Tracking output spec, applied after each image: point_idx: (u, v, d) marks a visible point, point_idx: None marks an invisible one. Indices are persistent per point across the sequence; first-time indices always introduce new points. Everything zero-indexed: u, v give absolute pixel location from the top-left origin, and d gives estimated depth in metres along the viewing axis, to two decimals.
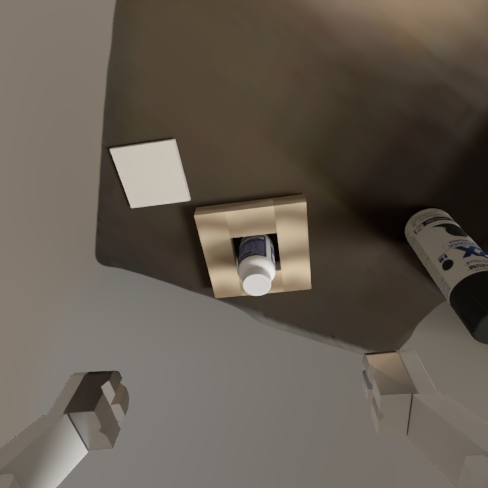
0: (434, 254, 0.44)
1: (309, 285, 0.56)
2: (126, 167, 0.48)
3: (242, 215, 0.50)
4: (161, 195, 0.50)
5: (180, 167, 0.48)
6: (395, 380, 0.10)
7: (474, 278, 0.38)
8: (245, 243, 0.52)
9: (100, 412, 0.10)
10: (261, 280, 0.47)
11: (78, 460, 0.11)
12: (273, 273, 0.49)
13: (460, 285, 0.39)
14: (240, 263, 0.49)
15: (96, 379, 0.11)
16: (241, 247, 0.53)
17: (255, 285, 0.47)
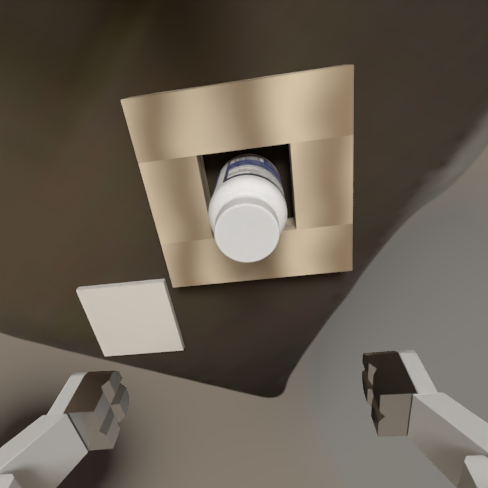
0: None
1: (341, 70, 0.23)
2: (125, 345, 0.38)
3: (163, 216, 0.28)
4: (160, 315, 0.36)
5: (113, 287, 0.34)
6: (395, 380, 0.10)
7: None
8: None
9: (100, 412, 0.10)
10: (231, 225, 0.20)
11: (78, 460, 0.11)
12: (244, 184, 0.22)
13: None
14: None
15: (96, 379, 0.11)
16: None
17: (247, 237, 0.21)
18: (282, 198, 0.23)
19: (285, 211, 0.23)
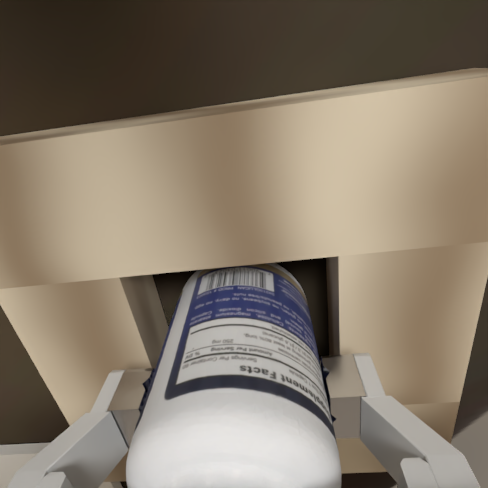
0: None
1: None
2: None
3: (66, 381, 0.14)
4: None
5: (8, 455, 0.20)
6: (346, 383, 0.10)
7: None
8: None
9: None
10: None
11: (120, 458, 0.10)
12: (219, 438, 0.07)
13: None
14: None
15: (136, 376, 0.11)
16: None
17: None
18: (331, 453, 0.08)
19: (338, 484, 0.08)
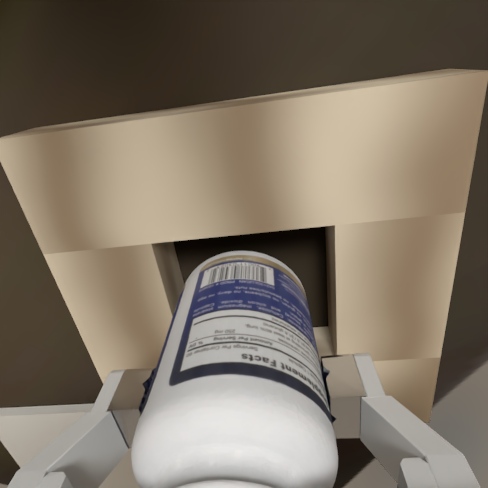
0: None
1: (459, 83, 0.10)
2: None
3: (100, 337, 0.16)
4: None
5: (39, 415, 0.22)
6: (346, 383, 0.10)
7: None
8: None
9: None
10: None
11: (120, 458, 0.10)
12: (221, 421, 0.07)
13: None
14: None
15: (136, 376, 0.11)
16: None
17: None
18: (328, 438, 0.08)
19: (335, 467, 0.08)
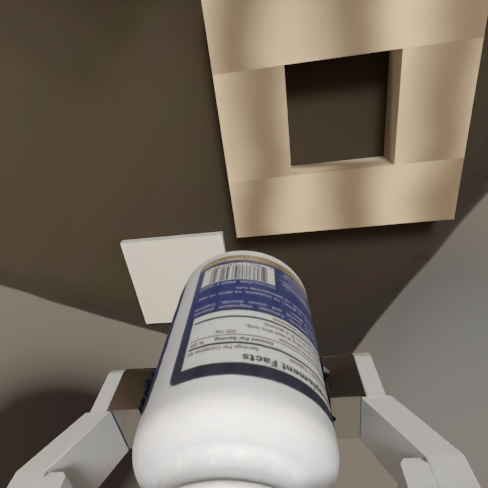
0: None
1: None
2: (170, 310, 0.33)
3: (235, 146, 0.24)
4: None
5: (163, 241, 0.30)
6: (346, 383, 0.10)
7: None
8: None
9: None
10: None
11: (120, 458, 0.10)
12: (222, 421, 0.07)
13: None
14: None
15: (136, 376, 0.11)
16: None
17: None
18: (329, 438, 0.08)
19: (336, 468, 0.08)
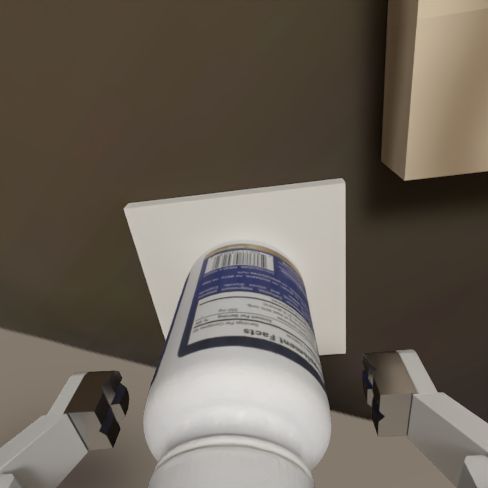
0: None
1: None
2: None
3: None
4: (314, 272, 0.15)
5: (215, 201, 0.14)
6: (395, 380, 0.10)
7: None
8: None
9: (100, 412, 0.10)
10: None
11: (78, 460, 0.11)
12: (226, 385, 0.08)
13: None
14: None
15: (96, 379, 0.11)
16: None
17: None
18: (322, 404, 0.09)
19: (328, 431, 0.09)
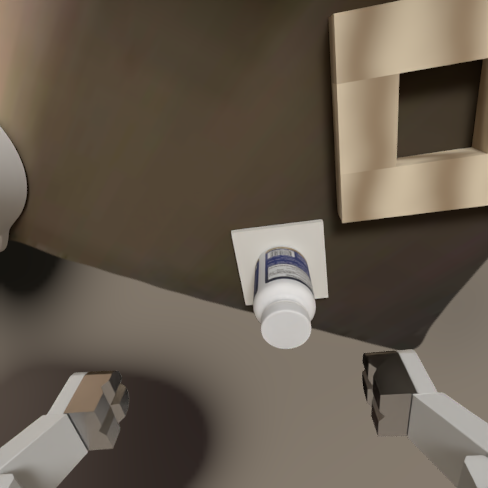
0: None
1: None
2: None
3: (350, 143, 0.28)
4: (311, 259, 0.35)
5: (269, 229, 0.34)
6: (395, 380, 0.09)
7: None
8: None
9: (100, 412, 0.10)
10: (274, 324, 0.27)
11: (78, 460, 0.11)
12: (282, 288, 0.28)
13: None
14: None
15: (96, 379, 0.11)
16: None
17: (286, 332, 0.27)
18: (312, 296, 0.29)
19: (314, 306, 0.29)
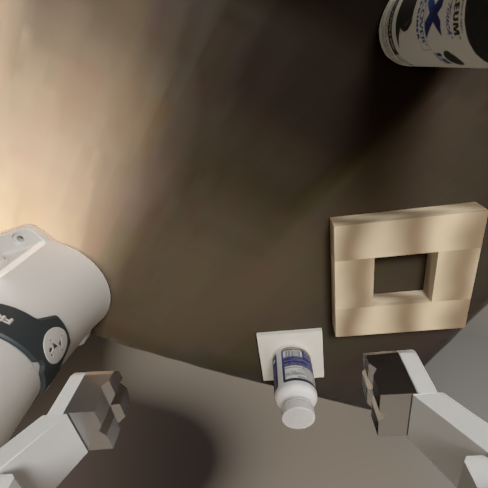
0: (438, 63, 0.24)
1: (480, 213, 0.37)
2: None
3: (342, 293, 0.42)
4: (313, 353, 0.49)
5: (284, 334, 0.48)
6: (395, 380, 0.09)
7: (474, 37, 0.18)
8: None
9: (100, 412, 0.10)
10: (291, 415, 0.41)
11: (78, 460, 0.11)
12: (296, 388, 0.42)
13: None
14: None
15: (96, 379, 0.11)
16: None
17: (298, 419, 0.41)
18: (315, 392, 0.43)
19: (316, 398, 0.43)
